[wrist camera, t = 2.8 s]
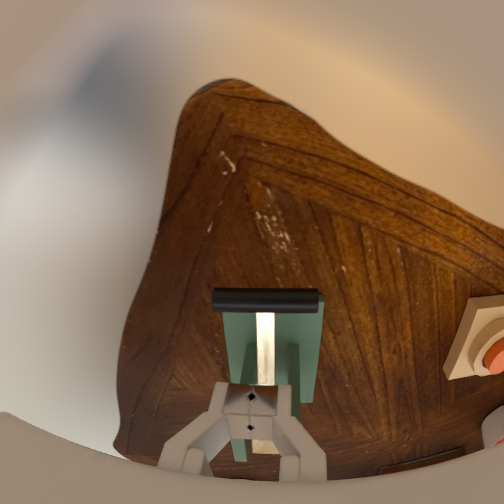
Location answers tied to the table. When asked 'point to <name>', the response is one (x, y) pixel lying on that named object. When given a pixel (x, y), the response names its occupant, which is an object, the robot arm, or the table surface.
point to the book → (424, 462)
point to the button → (495, 357)
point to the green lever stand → (286, 357)
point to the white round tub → (493, 428)
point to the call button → (475, 337)
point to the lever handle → (265, 325)
